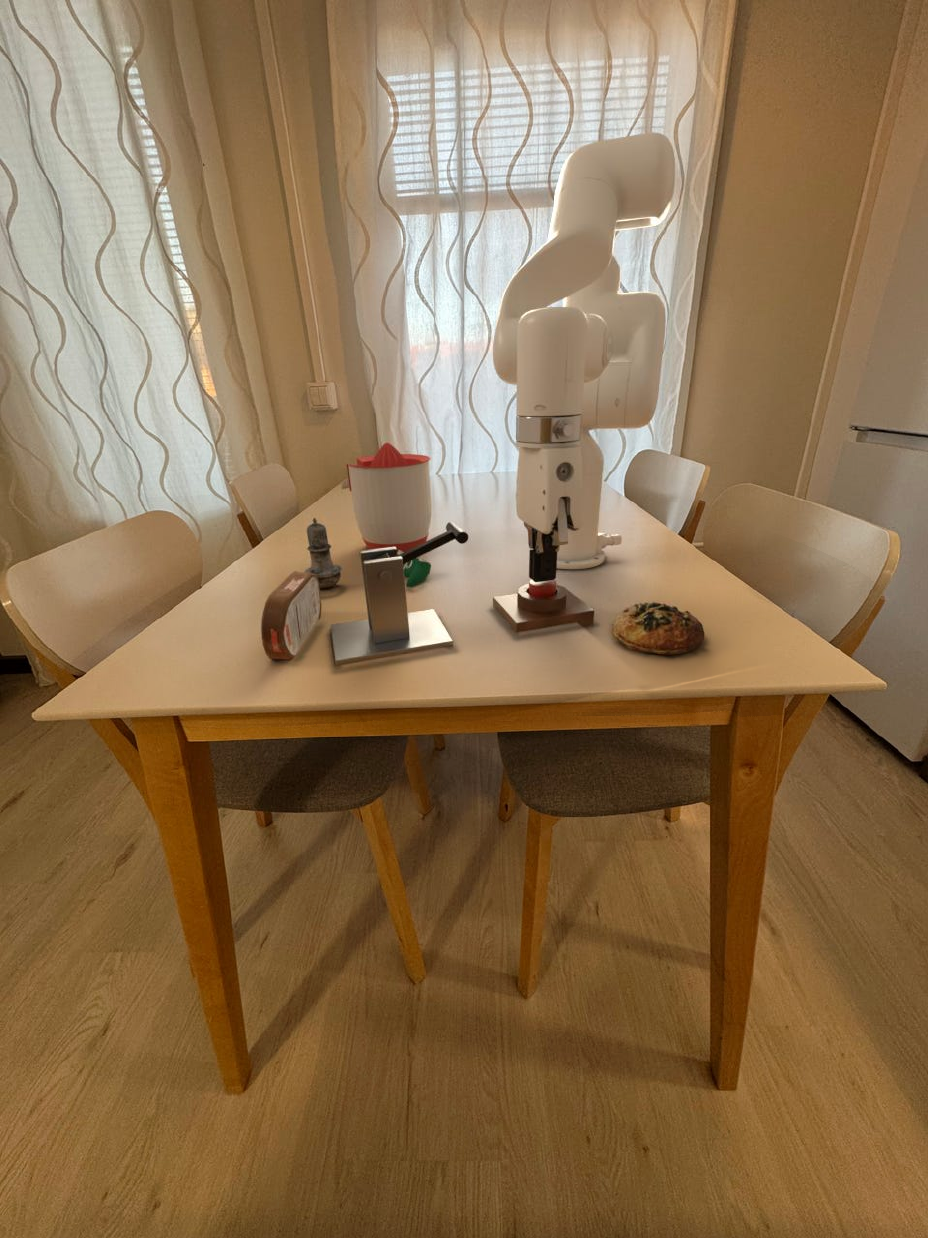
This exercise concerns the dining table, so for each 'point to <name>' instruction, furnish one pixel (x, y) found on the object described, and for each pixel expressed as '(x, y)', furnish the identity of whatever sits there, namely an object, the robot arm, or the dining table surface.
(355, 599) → the dining table surface
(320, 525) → the salt shaker
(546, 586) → the button
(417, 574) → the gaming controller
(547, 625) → the button block
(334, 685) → the dining table surface
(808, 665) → the dining table surface
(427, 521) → the citrus juicer
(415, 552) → the lever
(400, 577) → the bracket
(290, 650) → the tin
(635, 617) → the bread roll
